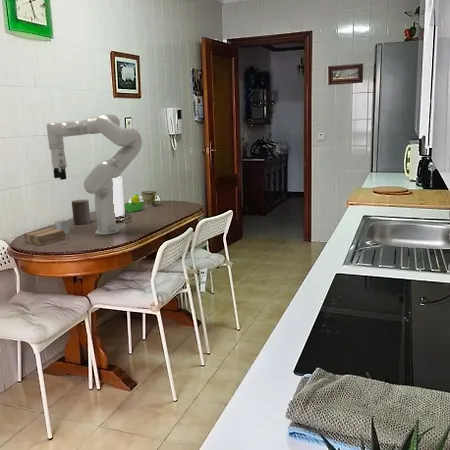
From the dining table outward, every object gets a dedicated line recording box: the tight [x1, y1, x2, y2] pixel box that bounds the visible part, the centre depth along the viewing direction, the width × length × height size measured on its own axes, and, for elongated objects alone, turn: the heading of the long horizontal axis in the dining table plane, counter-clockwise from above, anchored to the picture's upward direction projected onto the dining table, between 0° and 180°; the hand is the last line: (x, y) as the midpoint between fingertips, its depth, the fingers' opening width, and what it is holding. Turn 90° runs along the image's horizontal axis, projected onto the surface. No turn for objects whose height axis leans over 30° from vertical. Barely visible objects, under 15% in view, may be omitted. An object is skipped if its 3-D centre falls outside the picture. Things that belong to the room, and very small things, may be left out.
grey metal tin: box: [54, 219, 71, 235], centre depth 267 cm, size 5×5×7 cm
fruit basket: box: [124, 193, 144, 213], centre depth 321 cm, size 11×9×11 cm
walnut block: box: [23, 228, 66, 247], centre depth 252 cm, size 14×14×5 cm
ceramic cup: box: [140, 190, 158, 208], centre depth 335 cm, size 13×10×10 cm
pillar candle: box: [71, 198, 92, 226], centre depth 291 cm, size 10×10×15 cm
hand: (60, 178), depth 265 cm, fingers open, 9 cm apart
